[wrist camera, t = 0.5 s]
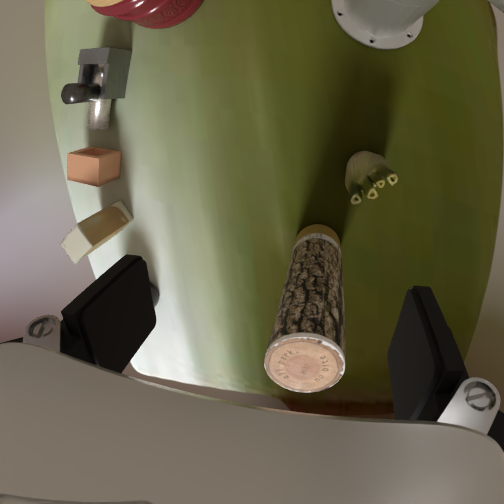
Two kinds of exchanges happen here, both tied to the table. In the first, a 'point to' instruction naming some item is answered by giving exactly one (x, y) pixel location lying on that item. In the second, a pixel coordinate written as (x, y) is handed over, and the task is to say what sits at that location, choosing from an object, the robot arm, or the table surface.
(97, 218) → the skincare box
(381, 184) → the fennel bulb
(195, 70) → the table surface
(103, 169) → the socket
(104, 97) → the sleeve
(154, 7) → the canister
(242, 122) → the table surface
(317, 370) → the paper tube
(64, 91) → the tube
